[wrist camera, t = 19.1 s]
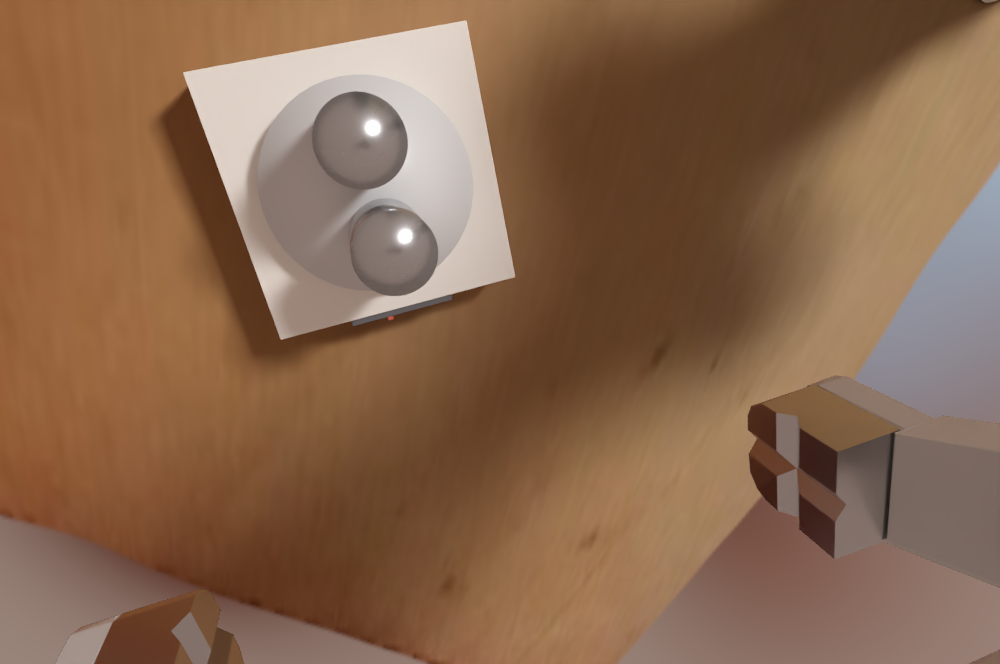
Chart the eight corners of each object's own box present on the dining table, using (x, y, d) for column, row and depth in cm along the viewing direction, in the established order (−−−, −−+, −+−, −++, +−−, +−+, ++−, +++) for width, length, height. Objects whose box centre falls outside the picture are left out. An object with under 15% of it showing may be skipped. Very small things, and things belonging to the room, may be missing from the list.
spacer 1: (388, 92, 29) (397, 84, 24) (404, 173, 30) (416, 181, 26) (306, 104, 28) (300, 98, 24) (327, 187, 30) (325, 197, 25)
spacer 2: (413, 190, 31) (426, 201, 26) (431, 261, 32) (446, 283, 28) (339, 207, 30) (339, 222, 26) (360, 280, 32) (364, 305, 27)
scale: (455, 29, 33) (470, 16, 29) (504, 275, 38) (521, 291, 34) (196, 77, 30) (177, 70, 26) (288, 333, 36) (283, 356, 32)
